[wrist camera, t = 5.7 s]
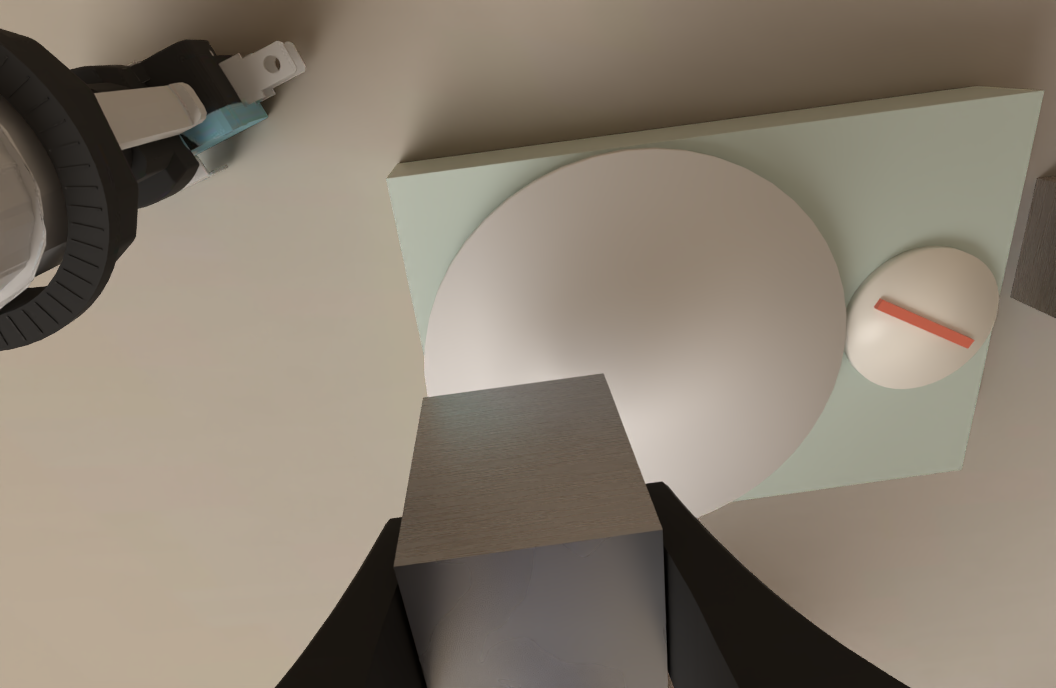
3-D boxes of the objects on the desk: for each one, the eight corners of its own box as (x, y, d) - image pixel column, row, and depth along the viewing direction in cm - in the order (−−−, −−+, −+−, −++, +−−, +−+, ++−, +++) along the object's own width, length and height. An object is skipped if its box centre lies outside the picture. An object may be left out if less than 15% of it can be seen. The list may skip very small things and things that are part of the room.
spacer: (614, 515, 15) (668, 705, 11) (453, 537, 15) (441, 738, 11) (603, 373, 14) (662, 529, 9) (423, 397, 14) (393, 566, 9)
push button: (247, -49, 16) (-74, -186, 7) (358, 151, 18) (231, 252, 9) (32, 72, 16) (-516, 96, 7) (163, 249, 19) (-136, 434, 10)
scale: (916, 431, 23) (978, 484, 20) (465, 493, 23) (462, 556, 20) (977, 85, 18) (1071, 92, 15) (397, 163, 18) (381, 184, 15)
